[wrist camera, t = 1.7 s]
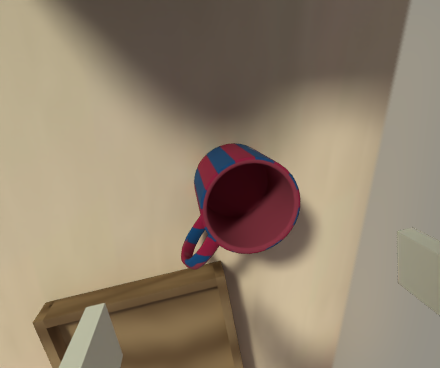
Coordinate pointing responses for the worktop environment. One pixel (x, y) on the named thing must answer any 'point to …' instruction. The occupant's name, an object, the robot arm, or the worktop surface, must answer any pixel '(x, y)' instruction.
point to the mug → (240, 203)
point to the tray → (155, 321)
